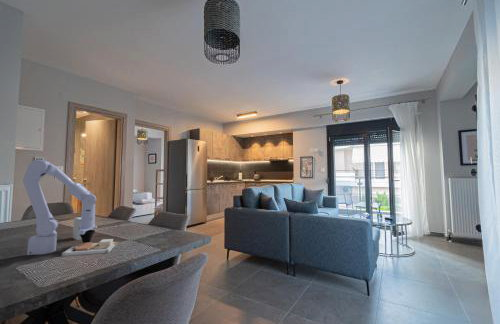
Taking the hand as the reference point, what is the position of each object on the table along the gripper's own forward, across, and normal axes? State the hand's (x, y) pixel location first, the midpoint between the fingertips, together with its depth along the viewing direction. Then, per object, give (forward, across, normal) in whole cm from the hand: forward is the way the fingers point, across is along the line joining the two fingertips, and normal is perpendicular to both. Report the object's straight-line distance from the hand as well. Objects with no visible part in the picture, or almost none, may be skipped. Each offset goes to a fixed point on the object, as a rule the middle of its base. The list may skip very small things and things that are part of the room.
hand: (86, 245), depth 113 cm
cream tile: (0, +2, -8) cm, 8 cm away
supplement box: (+2, +20, +9) cm, 22 cm away
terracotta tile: (+1, -3, 0) cm, 3 cm away
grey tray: (+2, -8, -4) cm, 9 cm away
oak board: (+2, +2, -4) cm, 5 cm away
